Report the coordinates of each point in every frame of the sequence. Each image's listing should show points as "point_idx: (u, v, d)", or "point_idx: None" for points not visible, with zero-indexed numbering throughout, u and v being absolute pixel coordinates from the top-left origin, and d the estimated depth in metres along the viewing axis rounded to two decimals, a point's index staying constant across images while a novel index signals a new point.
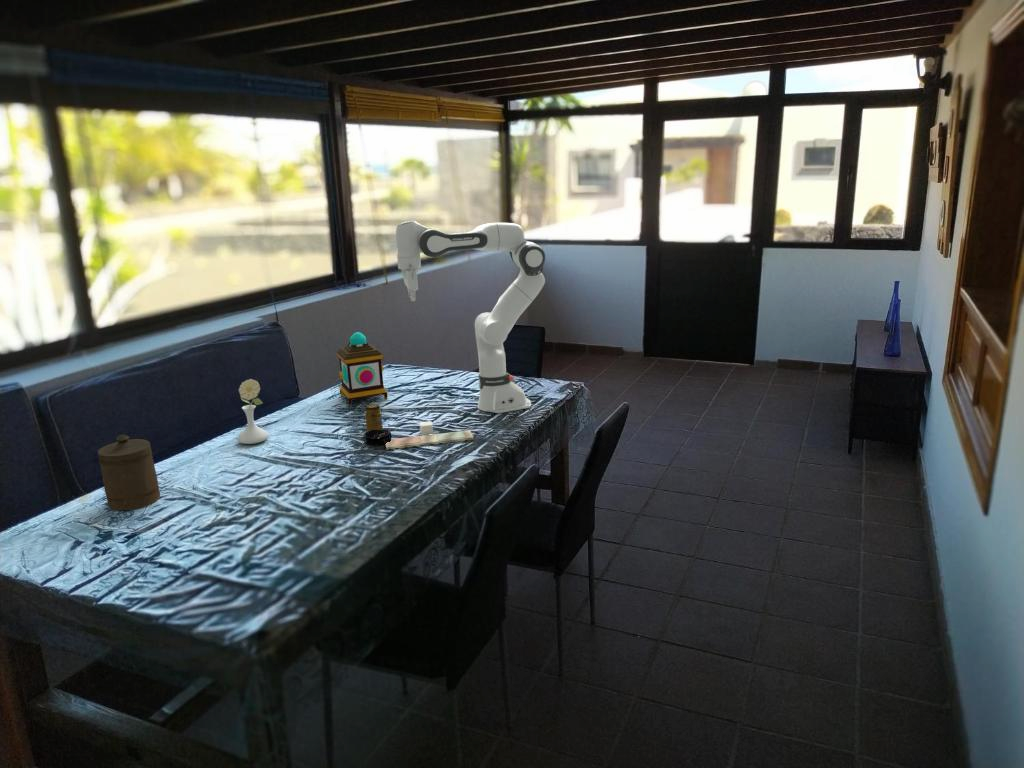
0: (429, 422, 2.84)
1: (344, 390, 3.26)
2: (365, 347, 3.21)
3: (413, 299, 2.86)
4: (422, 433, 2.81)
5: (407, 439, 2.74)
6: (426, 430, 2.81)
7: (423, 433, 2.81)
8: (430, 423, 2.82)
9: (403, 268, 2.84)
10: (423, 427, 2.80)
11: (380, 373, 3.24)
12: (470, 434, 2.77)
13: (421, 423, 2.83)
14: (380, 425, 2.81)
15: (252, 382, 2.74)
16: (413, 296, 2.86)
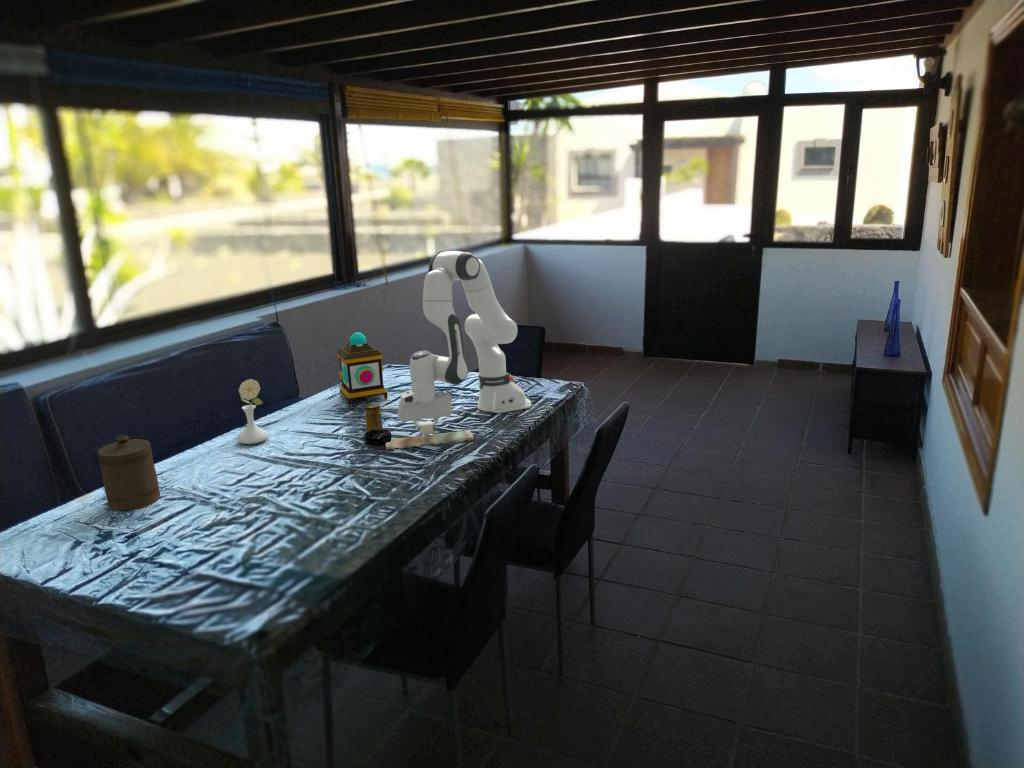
0: (429, 422, 2.84)
1: (344, 390, 3.26)
2: (365, 347, 3.21)
3: (435, 425, 2.84)
4: (422, 433, 2.81)
5: (407, 439, 2.74)
6: (426, 429, 2.81)
7: (423, 433, 2.81)
8: (430, 423, 2.82)
9: (433, 398, 2.78)
10: (423, 427, 2.80)
11: (380, 373, 3.24)
12: (470, 434, 2.77)
13: (421, 423, 2.83)
14: (380, 425, 2.81)
15: (252, 382, 2.74)
16: None
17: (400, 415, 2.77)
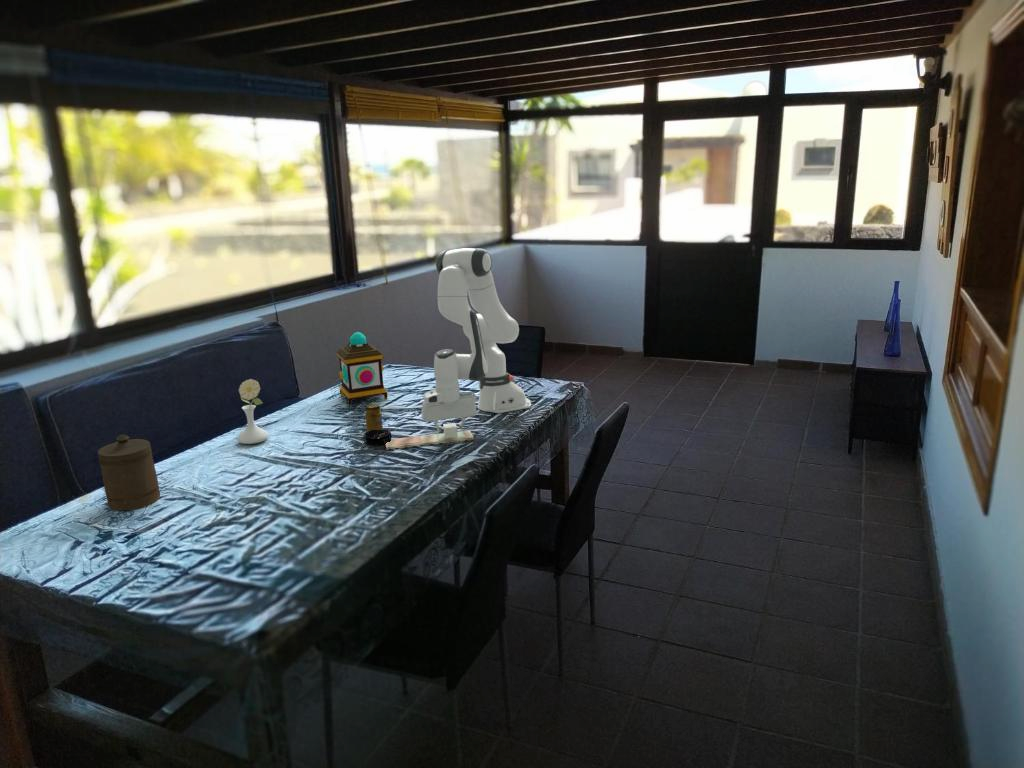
0: (453, 424, 2.77)
1: (344, 390, 3.26)
2: (365, 347, 3.21)
3: (462, 426, 2.77)
4: (446, 435, 2.74)
5: (407, 439, 2.74)
6: (450, 432, 2.74)
7: (447, 435, 2.74)
8: (454, 425, 2.75)
9: (458, 398, 2.70)
10: (447, 429, 2.73)
11: (380, 373, 3.24)
12: (470, 434, 2.77)
13: (445, 425, 2.76)
14: (380, 425, 2.81)
15: (252, 382, 2.74)
16: None
17: (424, 415, 2.70)
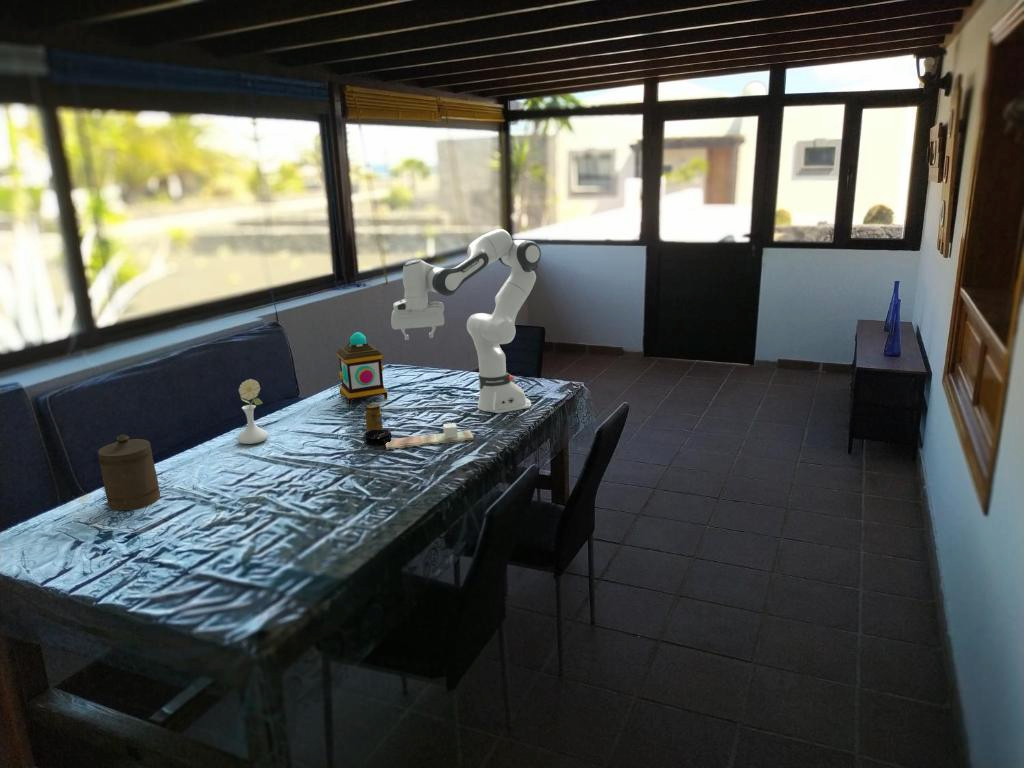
0: (453, 424, 2.77)
1: (344, 390, 3.26)
2: (365, 347, 3.21)
3: None
4: (446, 435, 2.74)
5: (407, 439, 2.74)
6: (450, 432, 2.74)
7: (447, 435, 2.74)
8: (454, 425, 2.75)
9: (426, 306, 2.81)
10: (447, 429, 2.73)
11: (380, 373, 3.24)
12: (470, 434, 2.77)
13: (445, 425, 2.76)
14: (380, 425, 2.81)
15: (252, 382, 2.74)
16: None
17: (393, 323, 2.81)
